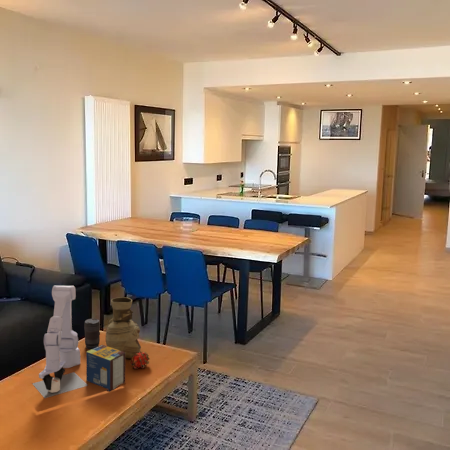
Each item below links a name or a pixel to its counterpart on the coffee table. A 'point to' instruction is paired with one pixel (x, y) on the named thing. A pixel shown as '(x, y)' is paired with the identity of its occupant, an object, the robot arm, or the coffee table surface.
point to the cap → (55, 385)
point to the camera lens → (92, 333)
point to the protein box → (105, 367)
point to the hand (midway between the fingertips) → (53, 386)
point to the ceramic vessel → (123, 328)
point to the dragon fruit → (140, 360)
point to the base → (62, 385)
